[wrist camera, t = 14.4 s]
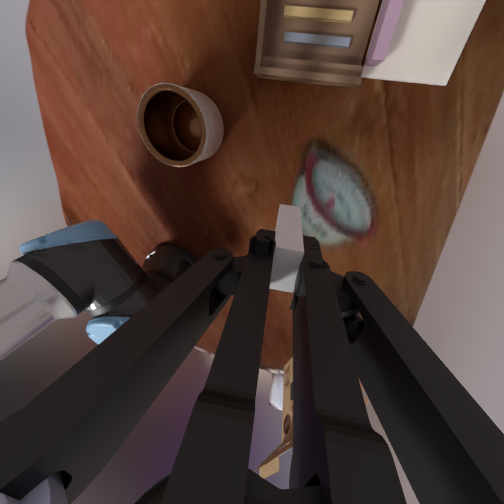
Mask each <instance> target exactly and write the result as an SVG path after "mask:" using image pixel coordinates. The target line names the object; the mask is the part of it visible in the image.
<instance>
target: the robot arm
mask: <svg viewBox="0 0 504 504" xmlns="http://www.w3.org/2000/svg"><path fill="white" fill-rule="evenodd" d="M19 249H20V253H21V254H24V256H22V257H20V258H18V259H16V260H14V261H12V262H10V265H9V269H8V272H7V275H6V277H5V278H4V279H2V280H1V281H0V360H2V359H3V358H4V357H6V356H7V355H8V354H10V353H11V352H12V351H14V350H15V349H16V348H18V347H19V346H20V345H22V344H23V343H24V342H26V341H27V340H28V339H30V338H31V337H32V336H34V335H35V334H36V333H38V332H39V331H40V330H42V329H43V328H44V327H46V326H47V325H49V324H50V323H51V322H52V321H54V320H56V319H61V318H74V317H75V316H77V315H78V314H79V313H81V312H82V311H83V310H84V311H85V312H86V313H87V314H88V315H89V316H90V317H91V318H92V319H91V320H90V321H89V323H88V325H87V327H86V331H87V332H88V335H89V337H90V338H91V339H92V340H93V341H94V342H96V343H97V344H99V345H97V346H96V347H95V348H94V349H93V350H92V351H90V352H89V353H88V354H87V355H86V356H84V357H83V358H82V359H81V360H80V361H79V362H77V363H76V364H75V365H74V366H72V367H71V368H70V369H69V370H68V371H67V372H65V373H64V374H63V375H62V376H61V377H59V378H58V379H57V380H56V381H55V382H53V383H52V384H51V385H50V386H49V387H48V388H46V389H45V390H44V391H43V392H42V393H40V394H39V395H38V396H37V397H36V398H35V399H34V400H32V401H31V402H30V403H28V404H27V405H26V406H25V407H24V408H22V409H20V410H19V411H17V412H15V413H13V414H12V415H10V416H8V417H7V418H5V419H3V420H2V421H0V504H71V503H72V502H73V501H74V500H75V499H76V498H77V497H78V496H79V495H80V494H81V493H82V492H83V491H84V490H85V488H86V487H87V486H88V485H89V484H90V483H91V482H92V481H93V480H94V479H95V477H96V476H97V475H98V474H99V473H100V472H101V471H102V469H103V468H104V467H105V466H106V464H107V463H108V462H109V461H110V459H111V458H112V457H113V455H114V454H115V453H116V452H117V450H118V449H119V448H120V446H121V445H122V444H123V442H124V441H125V440H126V438H127V437H128V436H129V434H130V433H131V431H132V430H133V429H134V427H135V426H136V425H137V423H138V422H139V421H140V419H141V418H142V416H143V415H144V414H145V412H146V411H147V410H148V408H149V407H150V406H151V404H152V403H153V401H154V400H155V399H156V398H157V396H158V395H159V393H160V392H161V391H162V389H163V388H164V387H165V385H166V384H167V383H168V381H169V380H170V378H171V377H172V376H173V374H174V373H175V372H176V370H177V369H178V368H179V366H180V365H181V363H182V362H183V361H184V359H185V358H186V356H187V355H188V354H189V353H190V351H191V350H192V349H193V347H194V346H195V345H196V343H197V342H198V341H199V339H200V338H201V337H202V335H203V334H204V332H205V331H206V330H207V328H208V327H209V326H210V324H211V323H212V322H213V320H214V319H215V318H216V316H217V315H218V313H219V312H220V311H221V309H222V308H223V307H224V305H225V304H226V303H227V301H228V300H229V299H230V296H231V295H234V299H233V302H232V305H231V308H230V311H229V314H228V317H227V320H226V323H225V326H224V329H223V332H222V335H221V338H220V342H219V345H218V348H217V351H216V354H215V357H214V360H213V363H212V366H211V369H210V373H209V375H208V378H207V382H206V384H205V387H204V389H203V391H202V392H201V393H200V394H199V396H198V398H197V400H196V402H195V405H194V408H193V410H192V413H191V416H190V420H189V423H188V425H187V428H186V431H185V434H184V437H183V440H182V443H181V446H180V448H179V452H178V454H177V457H176V460H175V463H174V466H173V469H172V472H171V473H170V474H168V475H167V476H165V477H164V478H162V479H161V480H159V481H158V482H157V483H156V484H154V485H153V486H152V487H151V488H150V489H149V490H148V491H147V492H145V493H144V494H143V495H142V496H141V497H140V498H139V499H138V500H137V502H136V503H135V504H407V503H406V500H405V497H404V493H403V490H402V487H401V483H400V480H399V477H398V473H397V470H396V467H395V463H394V460H393V457H392V455H391V452H390V449H389V447H388V445H387V443H386V441H385V440H384V438H383V437H382V436H381V435H380V434H378V433H377V432H375V431H374V430H373V428H372V427H371V424H370V421H369V418H368V414H367V410H366V406H365V402H364V399H363V395H362V391H361V387H360V383H359V379H360V381H361V383H362V385H363V387H364V389H365V391H366V393H367V395H368V398H369V400H370V402H371V404H372V406H373V408H374V410H375V412H376V414H377V416H378V418H379V420H380V422H381V425H382V427H383V429H384V430H385V433H386V435H387V437H388V439H389V441H390V443H391V445H392V447H393V449H394V451H395V454H396V456H397V458H398V460H399V462H400V464H401V466H402V468H403V470H404V472H405V474H406V476H407V478H408V480H409V483H410V484H411V487H412V489H413V491H414V493H415V495H416V497H417V499H418V501H419V503H420V504H504V434H503V433H502V432H501V430H500V429H499V428H498V427H497V426H496V425H495V424H494V422H493V421H492V420H491V419H490V418H489V416H488V415H487V414H486V413H485V412H484V411H483V409H482V408H481V407H480V406H479V405H478V403H477V402H476V401H475V400H474V399H473V398H472V396H471V395H470V394H469V393H468V392H467V391H466V389H465V388H464V387H463V386H462V385H461V383H460V382H459V381H458V380H457V379H456V378H455V376H454V375H453V374H452V373H451V372H450V371H449V369H448V368H447V367H446V366H445V365H444V364H443V362H442V361H441V360H440V359H439V358H438V357H437V355H436V354H435V353H434V352H433V351H432V349H431V348H430V347H429V346H428V345H427V343H426V342H425V341H424V340H423V339H422V338H421V337H420V335H419V334H418V333H417V332H416V331H415V329H414V328H413V327H412V326H411V325H410V324H409V322H408V321H407V320H406V319H405V318H404V316H403V315H402V314H401V313H400V312H399V311H398V309H397V308H396V307H395V306H394V305H393V304H392V302H391V301H390V300H389V299H388V298H387V296H386V295H385V294H384V293H383V292H382V291H381V289H380V288H379V287H378V286H377V285H376V284H375V282H374V281H373V280H372V279H371V278H370V277H368V276H367V275H365V274H363V273H361V272H355V271H350V272H347V273H346V274H345V277H344V276H341V275H339V274H336V273H334V272H332V271H330V267H329V265H328V263H326V262H325V261H324V260H323V258H322V254H321V249H320V245H319V241H318V240H317V239H316V238H315V237H310V236H304V235H303V234H302V224H301V214H300V207H295V206H289V205H283V204H280V207H279V213H278V218H277V224H276V229H275V231H270V230H264V229H260V230H259V231H257V233H256V235H254V236H252V237H251V238H250V244H249V252H248V255H246V256H242V257H233V254H232V253H231V252H230V251H228V250H226V249H214V250H211V251H210V252H208V253H207V254H206V255H205V256H203V257H202V258H201V259H200V260H199V261H197V259H196V258H195V257H194V256H193V255H192V254H191V253H190V252H188V251H187V250H185V249H183V248H181V247H178V246H175V245H161V246H158V247H156V248H155V249H153V250H152V251H151V252H150V253H149V254H148V256H147V257H146V259H145V261H144V264H143V266H142V268H141V267H140V265H139V264H138V263H137V262H136V260H135V259H134V258H133V256H132V255H131V254H130V253H129V251H128V250H127V249H126V247H125V246H124V245H123V244H122V242H121V241H120V240H119V237H118V236H116V235H115V234H114V233H113V232H112V231H111V230H110V229H109V227H108V226H107V225H106V224H105V223H103V222H102V221H99V220H90V221H86V222H82V223H79V224H75V225H72V226H69V227H66V228H64V229H60V230H58V231H55V232H52V233H49V234H47V235H45V236H42V237H39V238H36V239H33V240H30V241H28V242H26V243H24V244H22V245H20V247H19ZM294 287H295V293H294V296H293V300H292V303H291V307H290V309H292V307H293V455H292V461H291V468H290V480H289V489H285V490H284V489H279V488H277V487H276V486H274V485H273V484H271V483H270V482H268V481H267V480H265V479H264V478H262V477H261V476H259V475H257V474H256V473H255V472H253V471H251V470H250V469H248V463H249V455H250V446H251V439H252V431H253V423H254V413H255V397H256V389H257V380H258V373H259V366H260V358H261V350H262V342H263V335H264V327H265V319H266V311H267V304H268V296H269V288H270V289H275V290H281V291H286V292H291V293H293V290H294ZM359 314H361V316H362V318H363V320H362V319H361V318H360V317H359ZM358 377H359V379H358Z"/></svg>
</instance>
